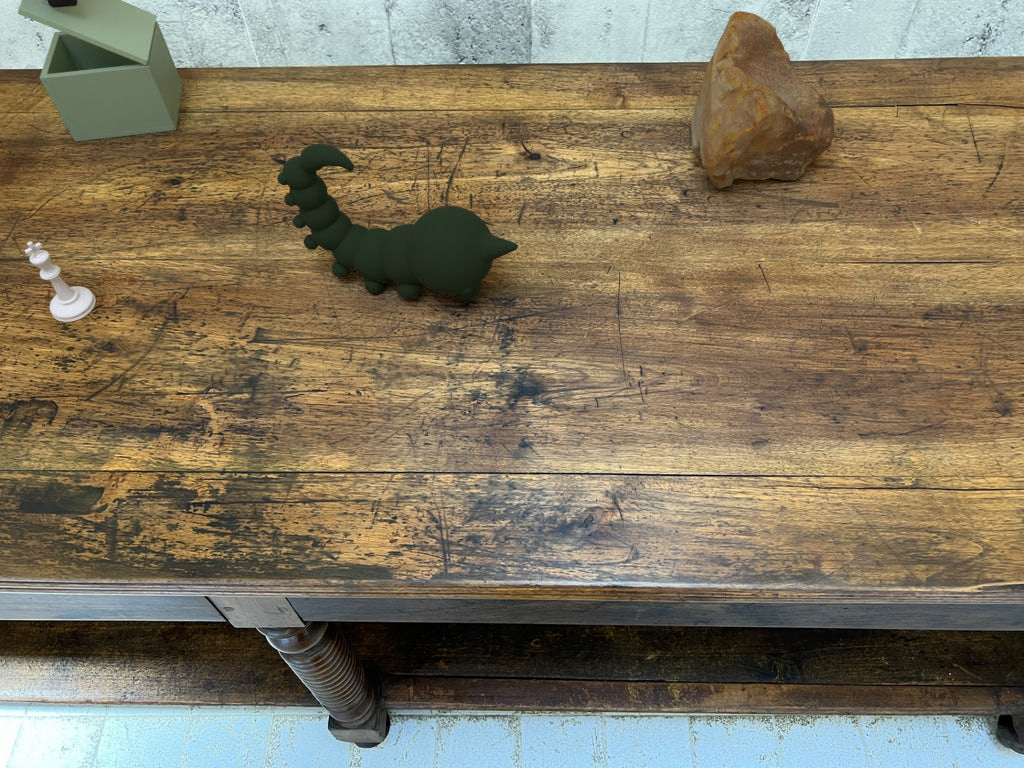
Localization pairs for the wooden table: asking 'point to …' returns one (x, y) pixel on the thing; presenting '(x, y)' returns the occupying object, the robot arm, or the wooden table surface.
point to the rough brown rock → (757, 109)
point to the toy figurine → (391, 236)
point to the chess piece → (61, 288)
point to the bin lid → (99, 24)
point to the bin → (111, 88)
